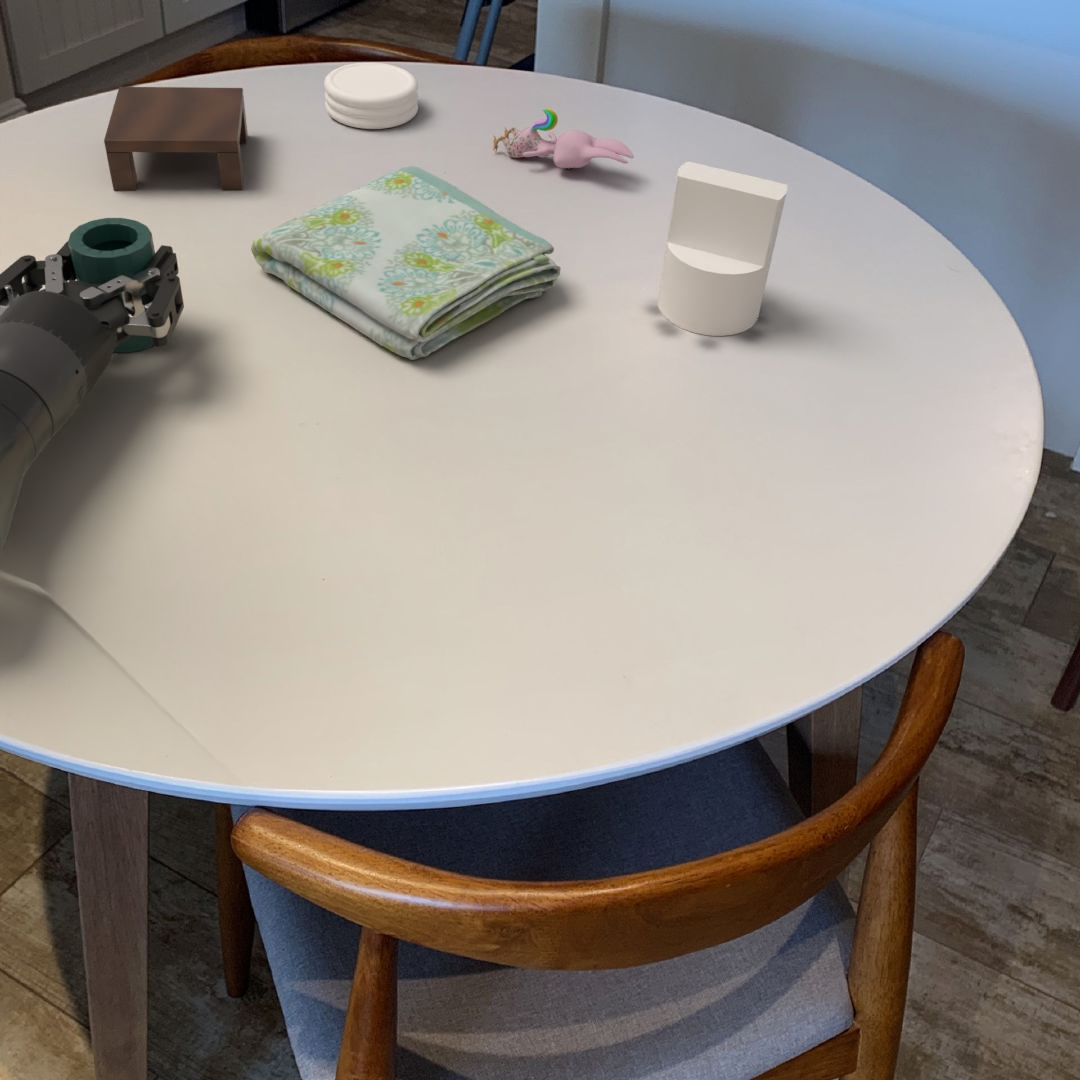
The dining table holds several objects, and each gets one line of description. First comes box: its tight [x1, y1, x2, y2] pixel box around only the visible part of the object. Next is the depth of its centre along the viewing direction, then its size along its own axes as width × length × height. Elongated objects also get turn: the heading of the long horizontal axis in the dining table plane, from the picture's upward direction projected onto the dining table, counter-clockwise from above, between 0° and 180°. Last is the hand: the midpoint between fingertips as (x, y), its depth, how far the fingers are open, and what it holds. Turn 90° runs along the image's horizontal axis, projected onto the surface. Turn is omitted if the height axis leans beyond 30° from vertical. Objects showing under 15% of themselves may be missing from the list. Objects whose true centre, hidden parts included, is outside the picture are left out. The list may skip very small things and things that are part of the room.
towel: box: [250, 165, 561, 361], centre depth 102 cm, size 18×21×5 cm
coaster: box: [323, 62, 419, 130], centre depth 127 cm, size 10×10×4 cm
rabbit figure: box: [492, 108, 635, 169], centre depth 120 cm, size 6×6×15 cm
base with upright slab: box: [657, 160, 789, 337], centre depth 100 cm, size 9×9×12 cm
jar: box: [67, 217, 156, 353], centre depth 93 cm, size 6×6×8 cm
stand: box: [103, 86, 249, 191], centre depth 115 cm, size 12×12×5 cm
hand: (127, 250), depth 93 cm, fingers closed on jar, 6 cm apart
